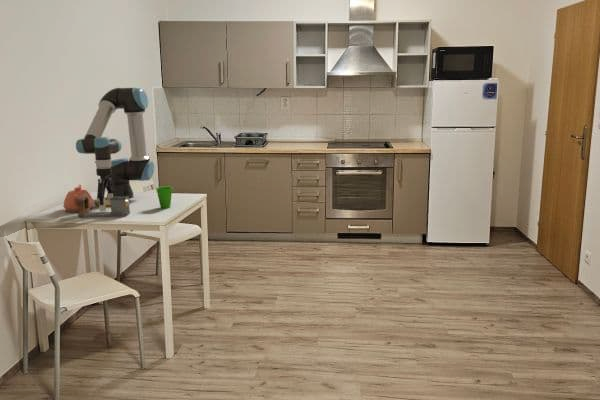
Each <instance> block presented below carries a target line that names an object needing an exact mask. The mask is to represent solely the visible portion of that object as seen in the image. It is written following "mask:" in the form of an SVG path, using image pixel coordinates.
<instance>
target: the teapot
mask: <svg viewBox="0 0 600 400" xmlns="http://www.w3.org/2000/svg"><path fill="white" fill-rule="evenodd" d="M73 189H74V190H69V191H68V192H67V194H66V195H65V198H64V201H63V209H64V210H65V211H67V212H72V213H75V212H77V213H78V205H77V198H78V197H80V196H82V195H88V197H89V209H90V210H91V209H92V208H93V206H95V202H94V199H93V197H92V196H91V194H90V193H89V191H88V190H87V189H83V188H82V185H81V184H78V186H76V187H73Z"/></svg>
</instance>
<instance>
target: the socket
mask: <svg viewBox="0 0 600 400" xmlns="http://www.w3.org/2000/svg"><path fill="white" fill-rule="evenodd" d="M77 205H78V212H77V214H78V218H86V217H85V215H86V214H88V213H89V212H91V209H89V197H88V195H82V196H80V197H78V198H77ZM82 216H83V217H82Z"/></svg>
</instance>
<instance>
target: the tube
mask: <svg viewBox="0 0 600 400" xmlns="http://www.w3.org/2000/svg"><path fill="white" fill-rule="evenodd" d="M94 207H95V208H96V209H100V206H99V199H95V200H94ZM127 207H129V208H130V199H129V200H126V208H127ZM105 208H106V209H109V208H110V209H111V202H110V200H108V199H105Z"/></svg>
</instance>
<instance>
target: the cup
mask: <svg viewBox="0 0 600 400" xmlns="http://www.w3.org/2000/svg"><path fill="white" fill-rule="evenodd" d="M173 188H174V187H173V186H158V187H156V188H155V190H156V193H157V197H158V200H159V202H158V203H159V205H160V206H159V207H160V209H165V210H166V209H170V208H171V206H172V205H171V203H172V195H173V194H172V193H173Z"/></svg>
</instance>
